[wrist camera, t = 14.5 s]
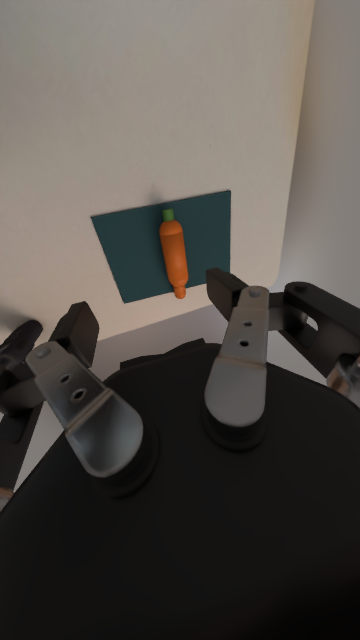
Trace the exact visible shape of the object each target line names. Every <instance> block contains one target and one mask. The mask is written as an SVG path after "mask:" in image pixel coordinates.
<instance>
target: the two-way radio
mask: <svg viewBox="0 0 360 640" xmlns="http://www.w3.org/2000/svg"><path fill="white" fill-rule="evenodd" d="M42 331H43V328H42V325H41V324H40V323H38V322H37V321H33V320H30V321H28V322H26V323H24V324H23V325H21V326H20V327H18V328H17V329H15V330H14V332H12V333H11V335H10V336H9V337H8V338H7V339H6V340H5V341H4V343H3V344H2V345H0V364H3V365H4V366H6V367H7V368H8V369H9V370H10V369H13V368H15V367H17V366H19V365H21V364H23V363H25V362H26V361H25V358H26V356H27V355H28V353H29V352H30V351H31V350H32V349H33V347H34V346H35V345H34V343H35V341H36V340H37V338H38V337H39V335H40V334H41V332H42Z"/></svg>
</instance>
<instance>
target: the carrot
mask: <svg viewBox="0 0 360 640" xmlns="http://www.w3.org/2000/svg"><path fill="white" fill-rule="evenodd" d="M162 214H163V220H164V222H163V223H162V224H161V226H160V230H159V234H160V239H161V244H162V249H163V254H164V259H165V264H166V270H167V275H168V279H169V282H170V283H171V284H172V285H173V288H174V293H175V296H176V298H178V299H182V298H184V297H185V295H186V291H185V284H186V283H187V281H188V269H187V261H186V253H185V245H184V237H183V230H182V227H181V225H180V223H179V222H178V221H176V220H174V213H173V208H171V209H165V210H162Z"/></svg>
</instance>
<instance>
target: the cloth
mask: <svg viewBox="0 0 360 640" xmlns="http://www.w3.org/2000/svg"><path fill="white" fill-rule="evenodd" d="M171 208H173V213H174V220H176V221H178V222H179V223H180V225H181V227H182V230H183V237H184V245H185V253H186V261H187V269H188V281H187V283H186V284H185V288H189V287H193V286H197V285H201V284H205V283H206V270H208V269H212V268H216V267H218V268H219V269H220V270H222V271H223V272H224V273H225V272H227V273H230V218H231V191H226V192H221V193H216V194H210V195H205V196H200V197H195V198H189V199H184V200H179V201H174V202H169V203H163V204H158V205H153V206H148V207H142V208H137V209H132V210H127V211H122V212H116V213H111V214H106V215H101V216H96V217H91V219H92V222H93V224H94V227H95V229H96V232H97V235H98V237H99V240H100V242H101V245H102V247H103V250H104V253H105V255H106V258H107V260H108V263H109V265H110V268H111V271H112V273H113V276H114V278H115V281H116V284H117V286H118V289H119V291H120V294H121V296H122V299H123V302H124V304H125V303H129V302H133V301H137V300H141V299H145V298H149V297H153V296H157V295H161V294H165V293H169V292H173V291H174V288H173V285H172V284H171V283H170V282H169V279H168V275H167V270H166V264H165V259H164V254H163V249H162V244H161V239H160V234H159V230H160V226H161V224H162V223H163V222H164V220H163V214H162V210H165V209H171Z"/></svg>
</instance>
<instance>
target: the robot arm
mask: <svg viewBox="0 0 360 640" xmlns="http://www.w3.org/2000/svg"><path fill="white" fill-rule="evenodd" d="M206 284H207V294H208V297H209V299H210V300H211V302H212V303H213V304H214V305H215V306H216V308H217V309H218V310H219V311H220V313H221V314H222V315H223V316H224V318H225V319H226V320H227V321H228V322H229V324H228V327H227V330H226V333H225V336H224V339H223V343H222V344H217V343H205V341H204V339H203V338H201V339H197V340H194V341H191V342H187V343H184V344H182V345H180V346H178V347H176V348H174V349H172V350H170V351H168V352H166V353H164V354H158V355H148V356H141V357H137V358H134V359H130V360H127V361H124V362H120V370H118V371H116V372H115V373H113V374H112V375H111V376H109V377H108V378H107V379H106V380H104V381H103V382H102V381H101V380H100V379H99V378H98V377H97V376H95V375H94V374H93V373H92V372H91V371H90V370H89V369H88V368H90V367H92V362H93V358H94V353H95V348H96V343H97V338H98V333H99V324H98V321H97V320H96V318H95V316H94V314H93V312H92V311H91V309H90V307H89V305H88V304H87V303H86V302H85V301H83V302H79V303H75V304H72V305H71V307H70V309H69V311H68V313H67V314H65V315H64V316H63V317H62V318H61V319H60V320H59V322H58V324H57V326H56V328H55V330H54V331H53V333H52V335H51V337H50V339H49V340H48V342H45V343H43V344H40V345H39V346H37V347H35V348H34V349H33V350H31V351H30V352H29V353H28V355H27V356H26V358H25V361H26V362H25V363H23V364H21V365H19V366H17V367H15V368H13V369H10V370H9V369H8V368H7V367H6V366H4V365H3V364H0V412H2V413H3V414H4V416H3V418H2V420H1V422H0V640H360V309H359V308H357V307H355V306H353V305H351V304H349V303H348V302H346V301H343V300H342V299H340V298H338V297H336V296H334V295H332V294H330V293H328V292H326V291H324V290H323V289H320V288H318V287H317V286H315V285H313V284H310V283H307V282H291V283H288V284H287V285H286V286H285V289H284V292H278V293H269V290H268V289H267V288H265V287H262V286H248V285H247V284H246V283H244V282H243V281H241V280H240V279H239V278H237V277H236V276H235V275H233V274H231V273H227V272H225V273H224V272H223V271H222V270H220V269H219V268H218V267H216V268H212V269H208V270H206ZM308 316H309V317H311V318H312V319H313V320H315V321H316V323H317V325H318V331H316V330H315V329H314V328H313V327H311V326H310V325H309V324H307V323H306V322H307V319H308ZM272 330H277V331H278V332H279V333H280V334H281V335H282V336H284V338H285V339H286V340H287V341H288V342H289V343H291V345H292V346H293V347H294V348H296V350H297V351H298V352H299V353H301V354H302V355H303V356H304V357H305V358H306V359H307V360H308V361H309V362H310V363H311V364H312V365H313V366H314V367H315V368H316V369H317V370H318V371H319V372H320V373H321V374H322V375H323V376H324V377H325V378H326V379H327V380H326V382H327V386H328V387H327V386H325V385H323V384H320V383H318V382H315V381H313V380H310V379H308V378H305V377H303V376H300V375H298V374H296V373H293V372H290V371H288V370H286V369H283V368H281V367H279V366H276V365H274V364H271V363H268V362H266V357H267V341H268V331H272ZM44 401H47V402H48V404H49V406H50V407H51V409H52V410H53V412H54V414H55V415H56V417H57V418H58V420H59V422H60V423H61V425H62V426H63V428H64V431H63V432H62V434H61V435H60V436H59V437H58V439H57V440H56V441H55V442H54V444H53V445H52V446H51V447H50V449H49V450H48V451H47V452H46V454H45V455H44V456H43V458H42V459H41V460H40V461H39V463H38V464H37V465H36V466H35V468H34V469H33V470H32V471H31V473H30V474H29V475H28V477H27V478H26V479H25V480H24V482H23V483H22V484H21V485H20V487H19V488H18V489H17V490H16V492H15V493H14V492H13V490H14V487H15V484H16V481H17V478H18V475H19V473H20V470H21V467H22V464H23V461H24V458H25V455H26V452H27V449H28V446H29V443H30V441H31V438H32V435H33V432H34V428H35V426H36V423H37V420H38V417H39V414H40V412H41V408H42V405H43V402H44Z"/></svg>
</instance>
